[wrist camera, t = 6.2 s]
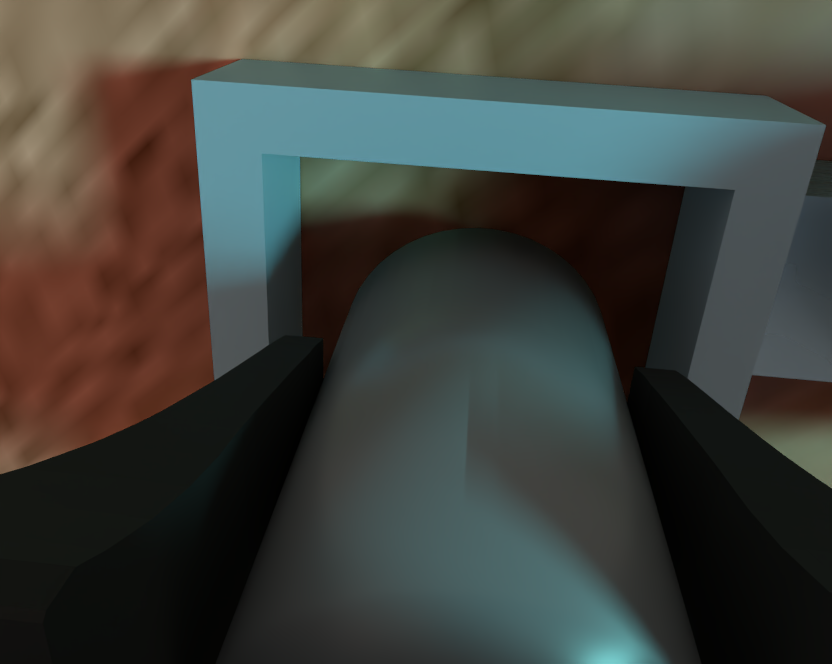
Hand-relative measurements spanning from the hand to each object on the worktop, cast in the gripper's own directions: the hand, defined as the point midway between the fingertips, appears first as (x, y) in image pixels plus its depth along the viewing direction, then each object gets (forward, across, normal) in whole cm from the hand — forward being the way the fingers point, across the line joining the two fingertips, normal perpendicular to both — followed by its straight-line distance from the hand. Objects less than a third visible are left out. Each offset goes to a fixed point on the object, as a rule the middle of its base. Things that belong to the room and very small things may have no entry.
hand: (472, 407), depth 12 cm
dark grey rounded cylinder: (+2, 0, 0) cm, 2 cm away
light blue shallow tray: (+3, 0, 0) cm, 3 cm away
